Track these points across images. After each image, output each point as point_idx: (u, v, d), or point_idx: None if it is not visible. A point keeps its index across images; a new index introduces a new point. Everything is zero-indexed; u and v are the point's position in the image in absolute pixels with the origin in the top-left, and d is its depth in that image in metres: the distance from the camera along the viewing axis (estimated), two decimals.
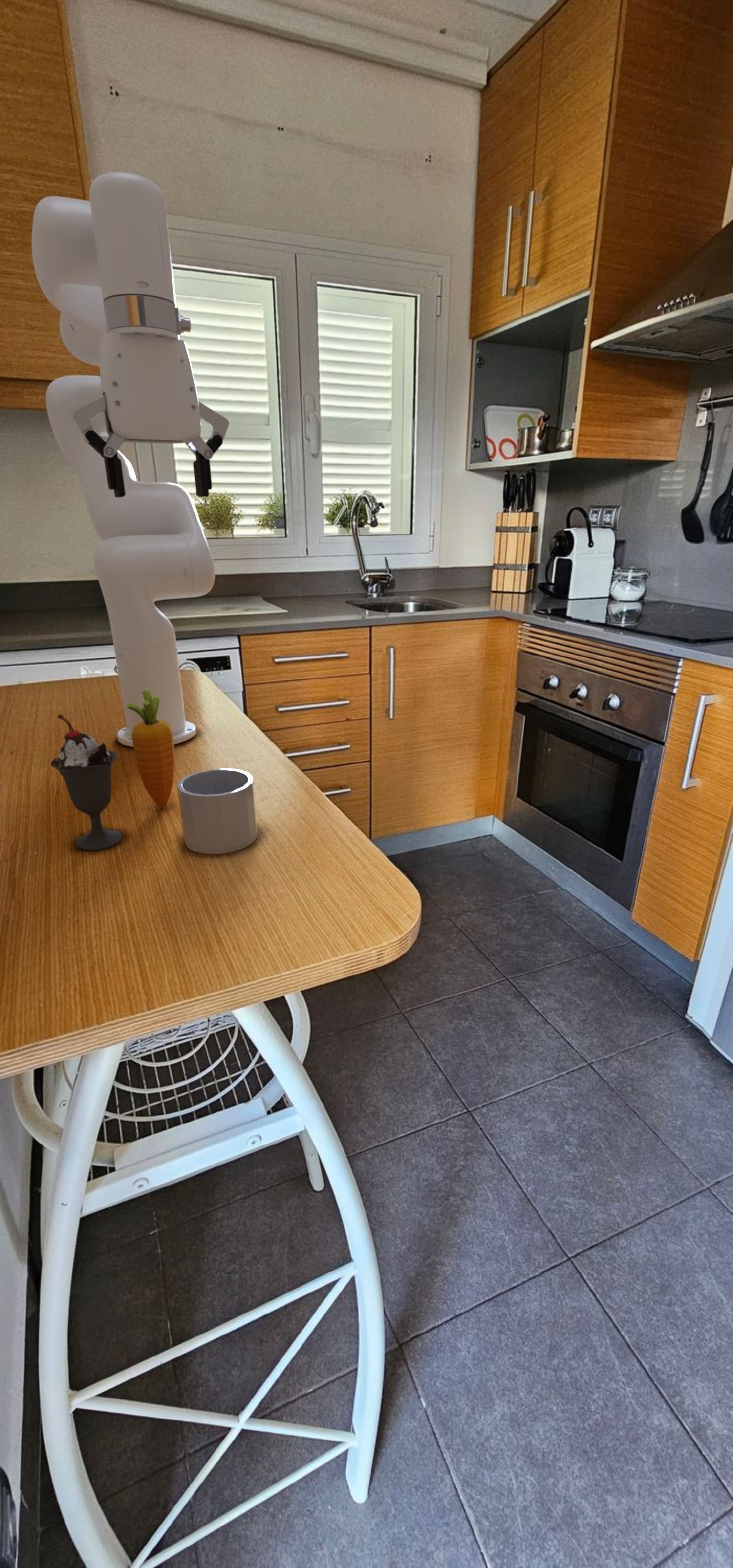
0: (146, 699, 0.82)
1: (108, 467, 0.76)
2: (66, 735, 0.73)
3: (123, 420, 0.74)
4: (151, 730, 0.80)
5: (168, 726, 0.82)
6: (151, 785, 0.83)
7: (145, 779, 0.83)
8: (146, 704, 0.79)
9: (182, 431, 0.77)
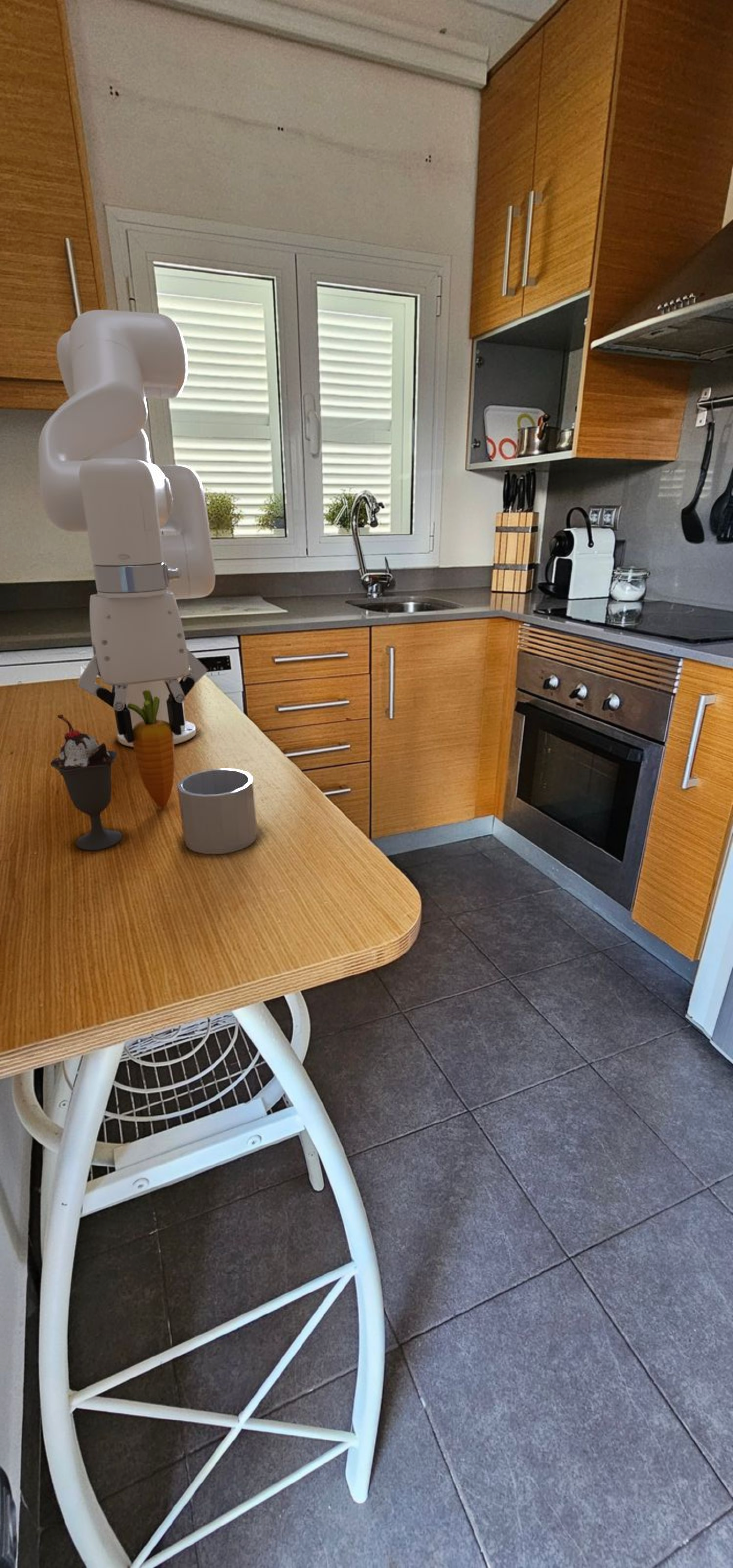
0: (146, 699, 0.82)
1: (118, 718, 0.79)
2: (66, 735, 0.73)
3: (112, 672, 0.76)
4: (152, 730, 0.80)
5: (168, 726, 0.82)
6: (151, 785, 0.83)
7: (145, 779, 0.83)
8: (146, 704, 0.79)
9: (170, 673, 0.79)
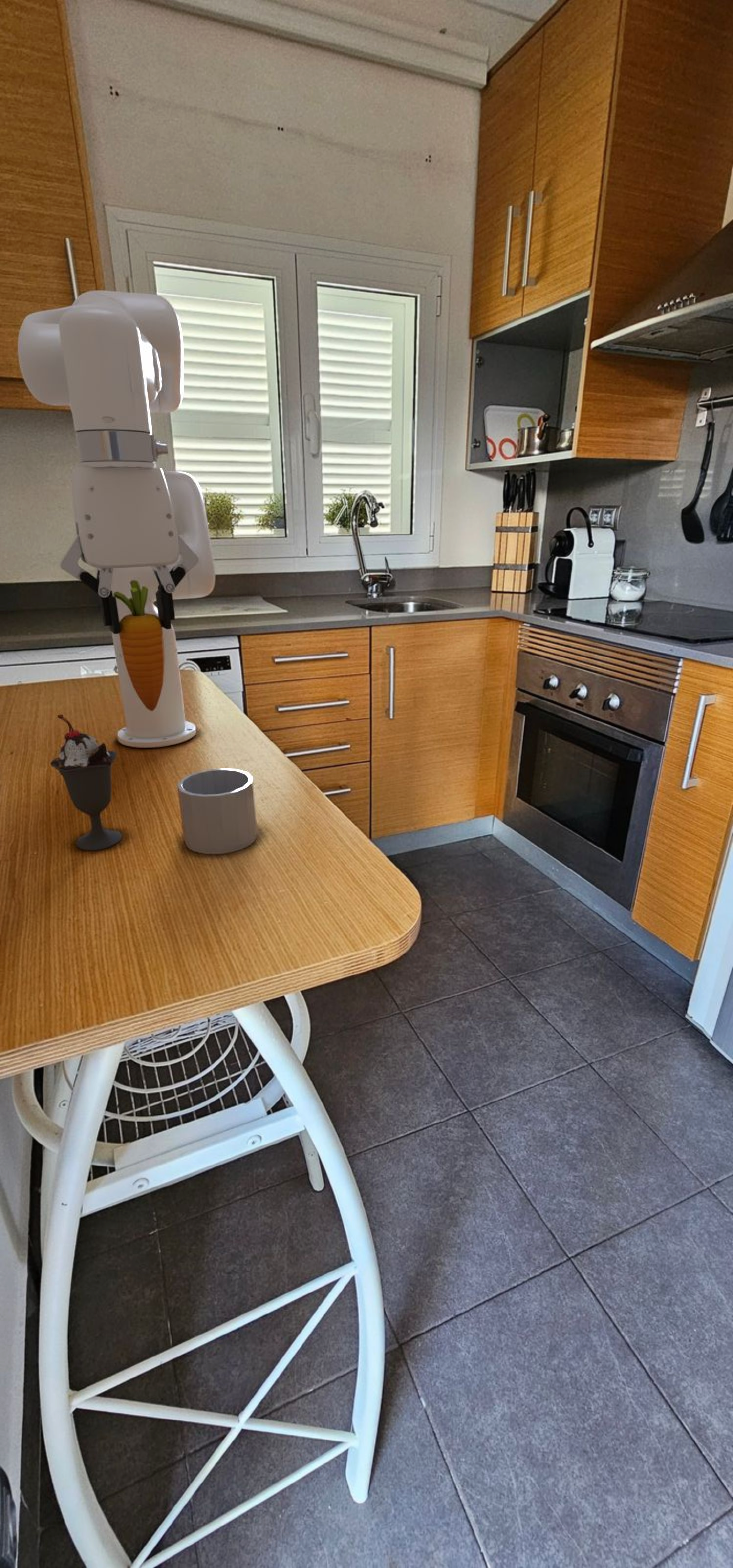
0: None
1: (103, 606, 0.74)
2: (66, 735, 0.73)
3: (96, 552, 0.71)
4: (139, 621, 0.75)
5: (157, 619, 0.77)
6: (139, 682, 0.78)
7: (133, 676, 0.78)
8: (133, 591, 0.74)
9: (159, 558, 0.74)
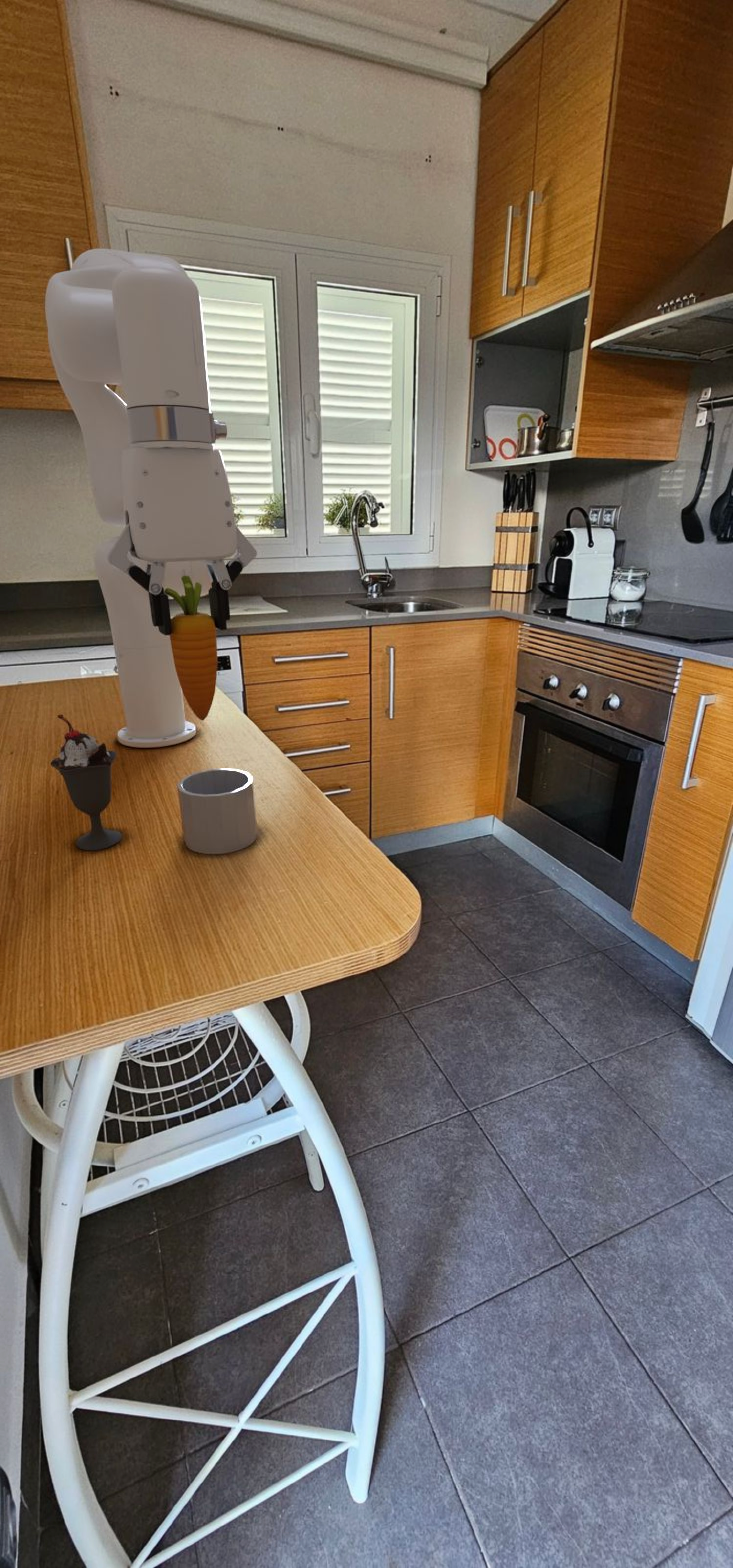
0: None
1: (153, 604, 0.67)
2: (66, 735, 0.73)
3: (149, 543, 0.63)
4: (193, 621, 0.68)
5: (211, 619, 0.69)
6: (191, 689, 0.71)
7: (184, 682, 0.71)
8: (188, 587, 0.66)
9: (216, 550, 0.67)
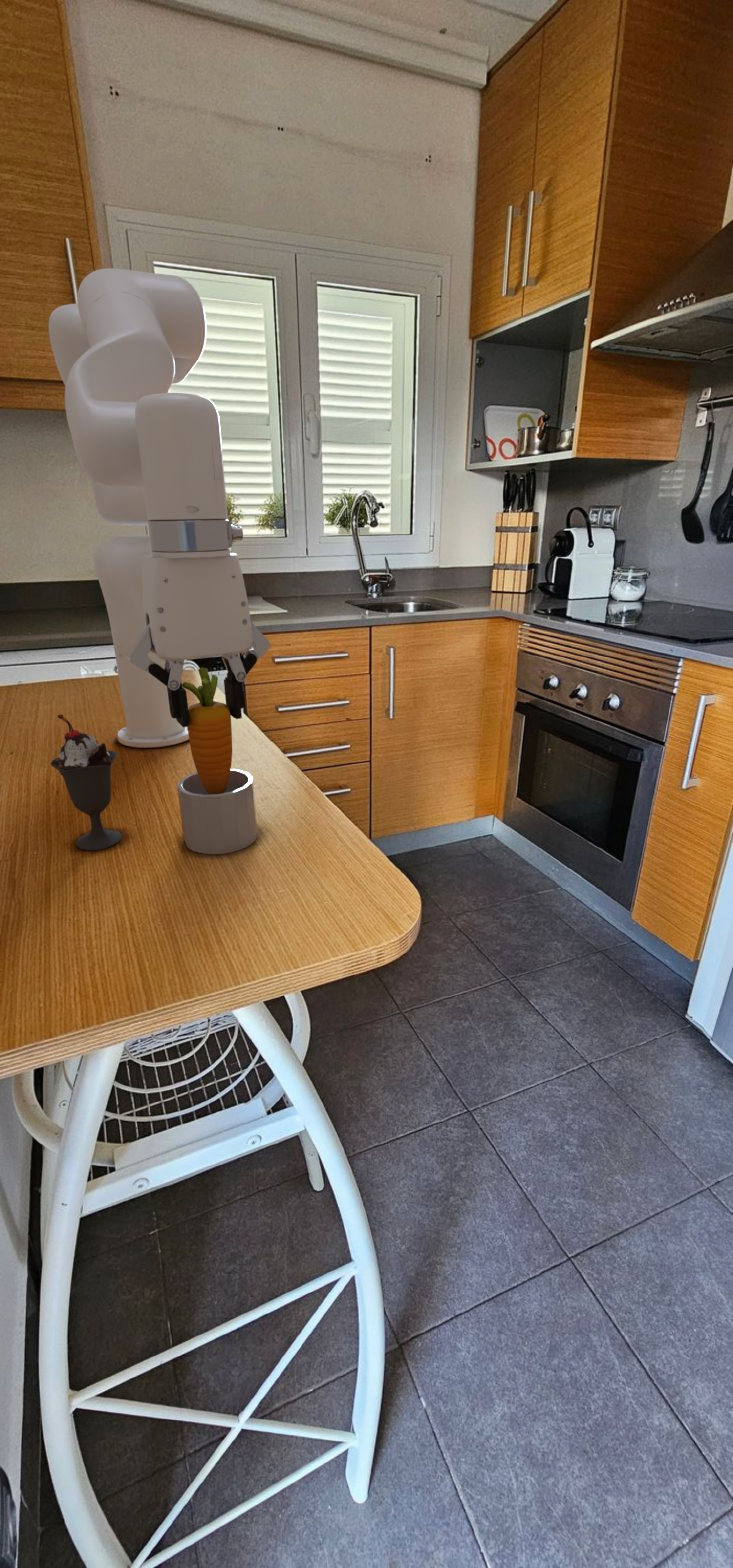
0: (203, 678, 0.72)
1: (172, 698, 0.69)
2: (66, 735, 0.73)
3: (168, 645, 0.66)
4: (210, 713, 0.71)
5: (227, 709, 0.72)
6: (207, 775, 0.73)
7: (200, 768, 0.73)
8: (205, 682, 0.69)
9: (232, 647, 0.69)
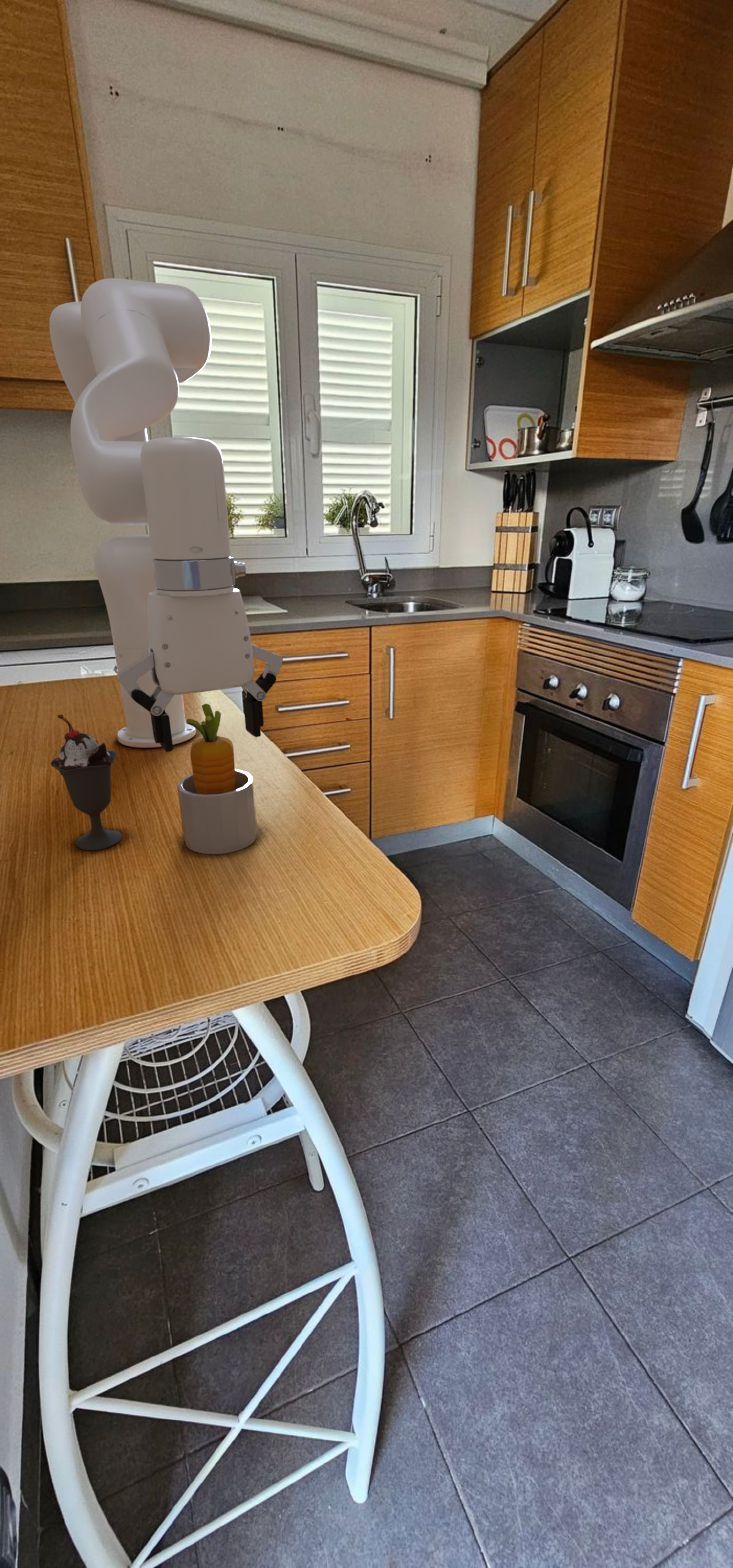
0: (206, 713, 0.73)
1: (155, 723, 0.70)
2: (66, 735, 0.73)
3: (173, 680, 0.68)
4: (213, 749, 0.72)
5: (230, 744, 0.74)
6: None
7: None
8: (208, 720, 0.71)
9: (235, 680, 0.71)
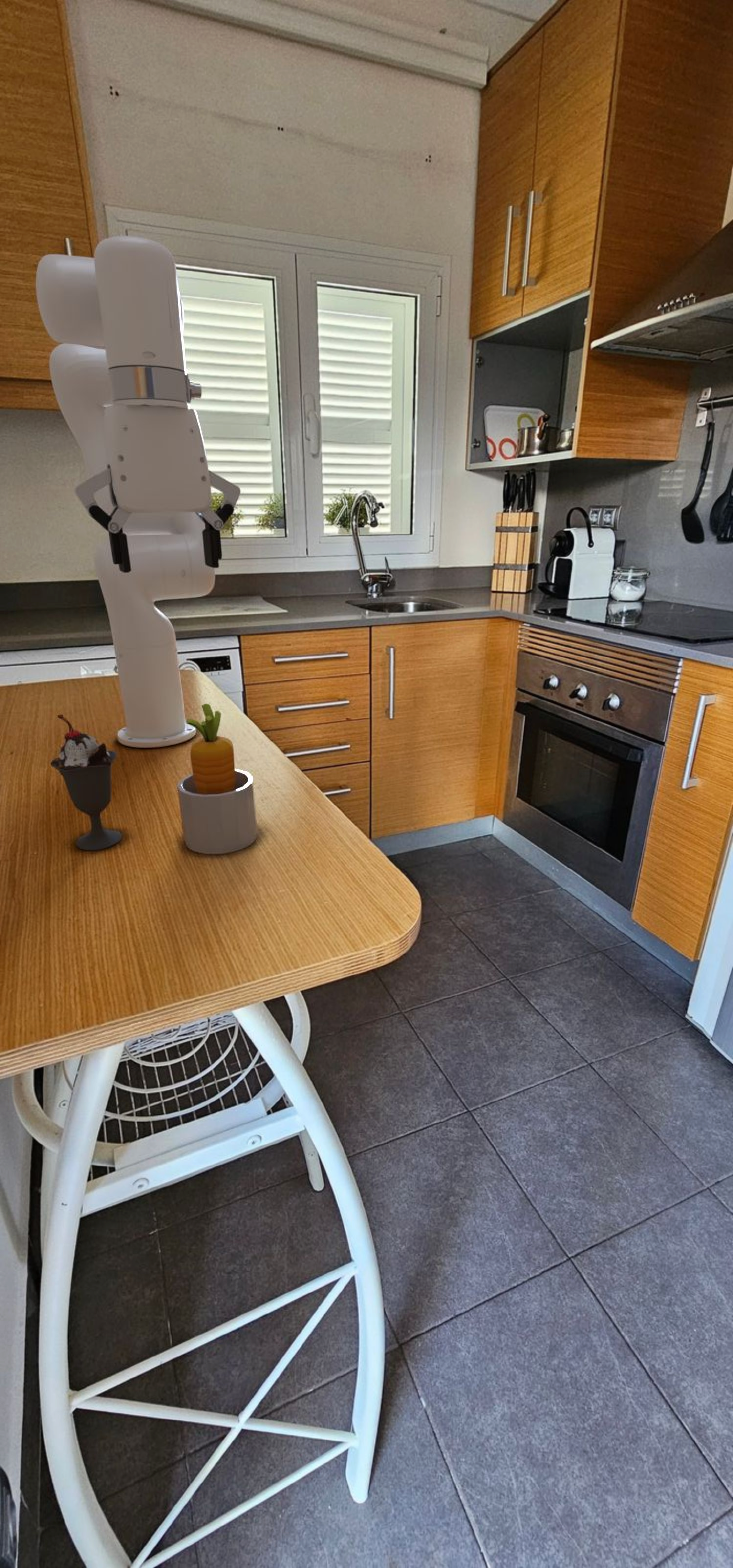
0: (206, 713, 0.73)
1: (113, 542, 0.71)
2: (66, 735, 0.73)
3: (129, 495, 0.69)
4: (213, 749, 0.72)
5: (230, 744, 0.74)
6: None
7: None
8: (208, 720, 0.71)
9: (191, 503, 0.72)
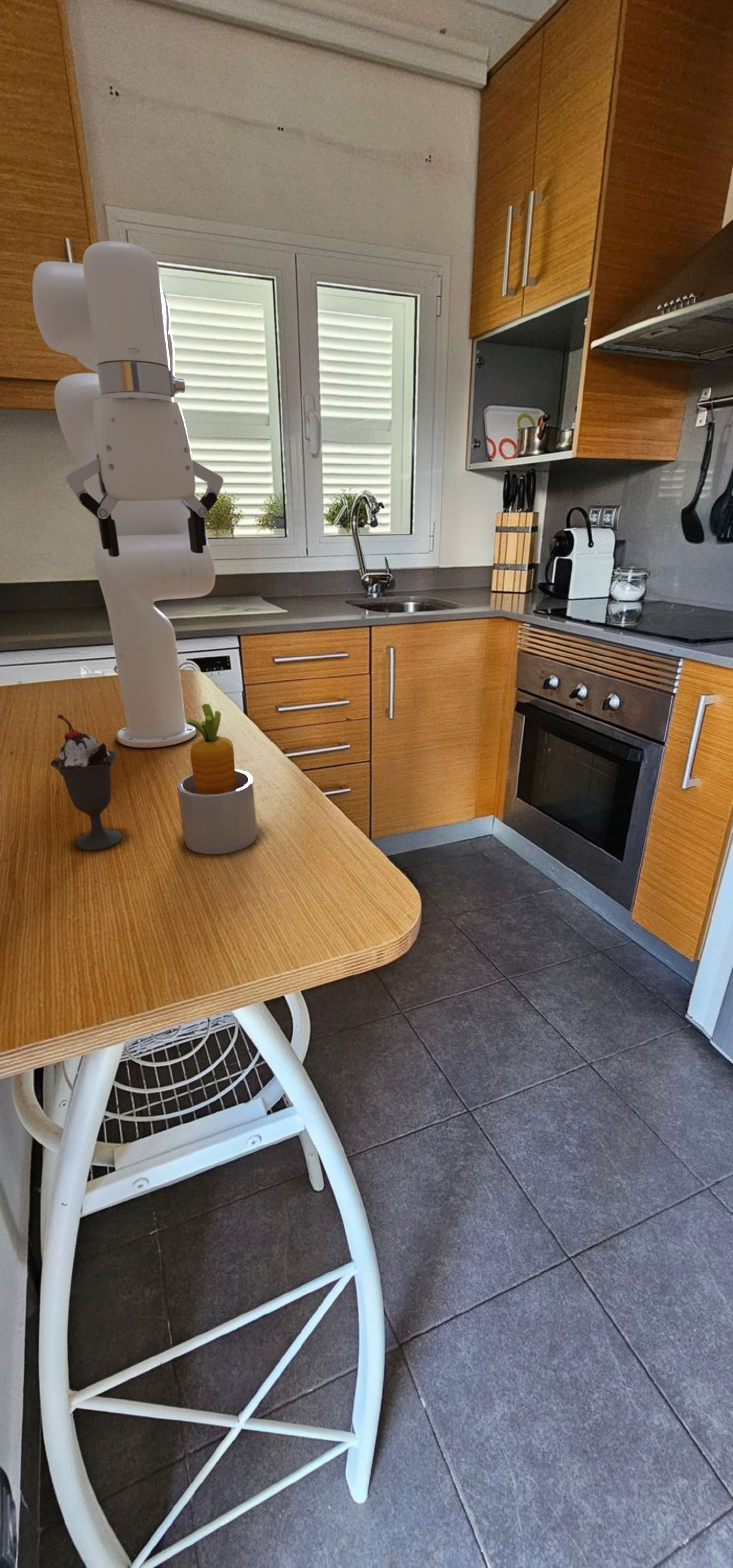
0: (206, 713, 0.73)
1: (102, 528, 0.76)
2: (66, 735, 0.73)
3: (117, 483, 0.74)
4: (213, 749, 0.72)
5: (230, 744, 0.74)
6: None
7: None
8: (208, 720, 0.71)
9: (176, 491, 0.77)
